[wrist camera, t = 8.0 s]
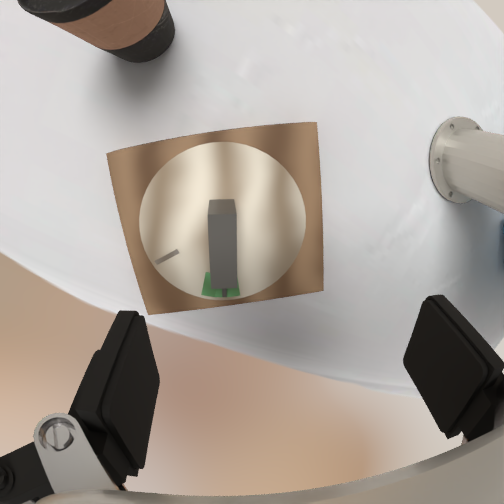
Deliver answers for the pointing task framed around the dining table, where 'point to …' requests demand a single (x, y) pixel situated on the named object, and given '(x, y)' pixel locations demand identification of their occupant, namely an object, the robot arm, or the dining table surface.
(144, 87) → the dining table surface
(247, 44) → the dining table surface
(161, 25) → the travel mug
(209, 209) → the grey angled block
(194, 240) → the brown wooden flat block
